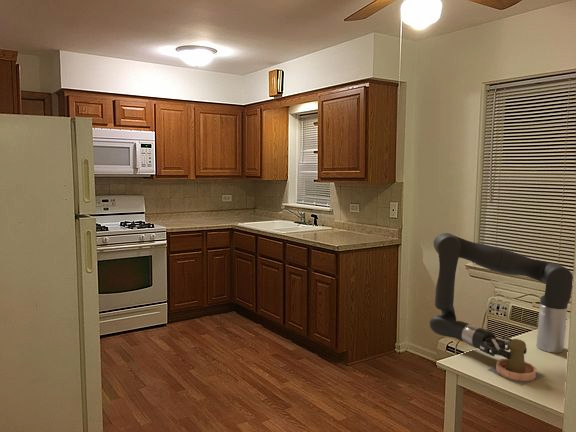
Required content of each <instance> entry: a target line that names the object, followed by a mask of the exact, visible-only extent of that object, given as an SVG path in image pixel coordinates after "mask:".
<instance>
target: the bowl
mask: <svg viewBox="0 0 576 432" xmlns="http://www.w3.org/2000/svg"><path fill="white" fill-rule="evenodd" d="M507 362H508V359H507V358H501V359H498V360H496V364H495V365H496V366H495V367H496V370H497V372H498V373H499V374H500V375H502V376H504V377H506V378H508V379H512V380H516V381H532V380H534V379H535V377H536V373H537V367H535V366H534V365H533V364H531V363H529V362H526V361H525V360H524V362H525V373H516V372H511V371H508V370H506V366H507ZM500 375H499V376H500ZM502 376H501V377H502ZM504 377H503V378H504ZM506 378H505V379H506ZM508 379H507V380H508ZM532 382H533V381H532Z"/></svg>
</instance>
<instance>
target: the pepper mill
mask: <svg viewBox="0 0 576 432" xmlns="http://www.w3.org/2000/svg"><path fill="white" fill-rule="evenodd" d="M511 339H512V340H511V341H510V342H509V346H510V350H509V352H510V353H511V359H508V362H507V366H506V370H508V371H511V372H516V373H525V362H526V361H525V354H524V351H525V349H526V348H527V344H526V342H525V341H524V340H522V339H518V338H511ZM524 361H525V362H524Z"/></svg>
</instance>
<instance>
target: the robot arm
mask: <svg viewBox="0 0 576 432" xmlns="http://www.w3.org/2000/svg"><path fill="white" fill-rule="evenodd" d="M433 247H434V250H435V252H436V253H437V255H438V262H439V263H438V264H439V270H438V276H437V281H436V286H435V291H434V292H435V294H434V295H435V297H434V306H435V308H436V309H437V310H440V311H441V314H438V315H434V316H432V317H431V318H430V320H429V328H430V329H431V331H432V332H434V333H435V334H437V335H440V336H443V337H448V338H452V339H453V338H454V339H456V340H459V341H460V342H464V343H466V344H467V345H469V346H471V347H473V348H476V349H478V350H479V351H481V352H483V353H485V354H487V355H489V356H492V357H495V356H497V357H503V358H504V359H511V353H510V346H509V342H510V341H511V340H512V339H513V338H510V337H507V336H502V338H500V337H496V336H495V334H494V332H492V331H490V330H488V329H486V328H483V327H480V326H477V325H473V324H470V323H468V322H466V321H463V320H457V315H456V311H455V307H454V302H455V301H454V299H455V283H456V282H455V281H456V272H457V267H458V262H459V258H460V259H463V260H467V261H469V262H472V263H474V264H476V265H478V266H481V267H482V268H484V269H487V270H490V271H492V272H497V273H498V274H499V273H500V274H505V275H509V276H522V277H527V278H531V279H534V280H535V281H539V282H541V283H543V284H544V285H545V288H544V290H545V291H544V295H541V297H540V301H539V311H538V312H539V314H538V321H537V322H538V324H537V335H536V346H535V347H537V348H538V349H539V350H542V351H544V352H546V353H547V352H548V353H552V354H553V353H554V354H555V353H556V354H557V353H558V354H559V353H562V352H564V349H565V340H566V329H567V315H568V313H567V312H568V305H569V303H570V301H571V299H572V298H571V297H572V292H573V285H572V279H573V280H574V277H573V274H572V272H571V270H570V269H568V268H567V267H565V266H563V265H561V264H559V263H556V262H550V261H545V260H541V259H540V260H539V259H534V258H530V257H527V256H525V255H522V254H520V253H517V252H514V251H511V250H508V249H506V248H505V249H504V248H503V247H502V248H501V247H497V246H493V245H488V244H483V243H479V242H474V241H470V240H468V239H467V240H466V239H464V238H461V237H459V236H457V235H454V234H452V233H450V232H449V233H448V232H444V233H440V234H438V235H436V236H435V238H434V240H433ZM527 350H528V349H527V347H526V349H525V351H524V355H526V354H527V352H528V351H527Z"/></svg>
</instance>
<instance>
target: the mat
mask: <svg viewBox="0 0 576 432" xmlns="http://www.w3.org/2000/svg"><path fill="white" fill-rule="evenodd" d="M486 370H487V371H489V372H491V373H493V374H495V375H498V376H500V377H503V378H504V379H506V380H509V381H511V382H513V383H515V384H517V385H518V386H519V385H520V386H524V385H527V384H530V383H531V382H532V383H533V382H534V381H537V380H539V379H542V378H544V377H546V376H545V375H544V374H540V373H538V372H536V377H535V379H534V380H532V381H516V380H512V379H508V378H506V377H504V376H502V375H500V374H499V373H498V372H497V370H496V366H493V367H489V368H488V369H486Z"/></svg>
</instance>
